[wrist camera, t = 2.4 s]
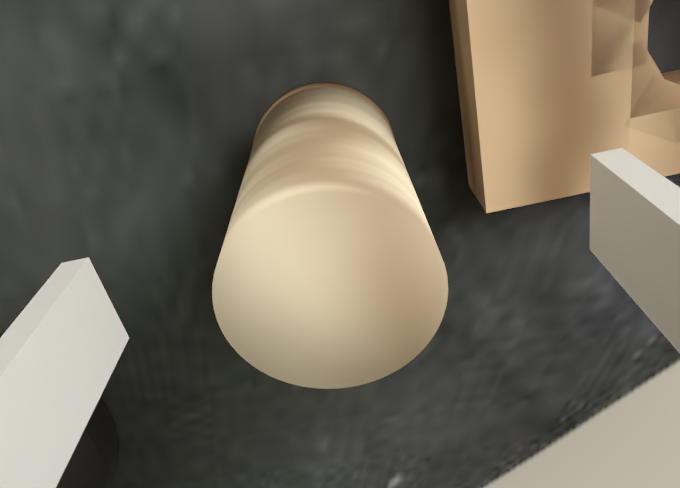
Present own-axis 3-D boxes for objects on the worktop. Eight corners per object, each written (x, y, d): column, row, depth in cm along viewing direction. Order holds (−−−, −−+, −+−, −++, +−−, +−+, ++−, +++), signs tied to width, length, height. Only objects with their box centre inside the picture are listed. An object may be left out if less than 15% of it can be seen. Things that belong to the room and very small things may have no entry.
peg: (278, 200, 26) (249, 407, 14) (244, 82, 23) (174, 220, 12) (395, 175, 25) (461, 367, 14) (373, 52, 23) (434, 164, 11)
